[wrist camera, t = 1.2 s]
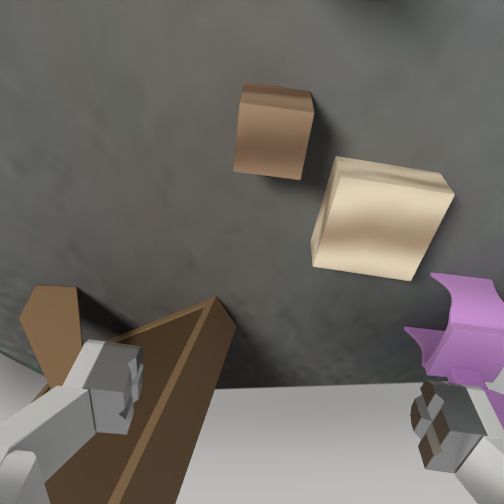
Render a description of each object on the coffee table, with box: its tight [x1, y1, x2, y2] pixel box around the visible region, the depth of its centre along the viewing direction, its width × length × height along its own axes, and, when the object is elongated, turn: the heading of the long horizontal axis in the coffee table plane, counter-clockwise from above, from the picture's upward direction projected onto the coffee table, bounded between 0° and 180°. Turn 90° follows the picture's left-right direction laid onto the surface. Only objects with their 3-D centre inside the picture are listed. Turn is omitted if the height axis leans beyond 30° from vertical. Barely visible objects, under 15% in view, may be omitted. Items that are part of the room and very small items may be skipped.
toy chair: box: [404, 273, 504, 429], centre depth 38 cm, size 8×9×15 cm
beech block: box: [311, 156, 455, 281], centre depth 36 cm, size 9×9×4 cm
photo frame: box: [19, 285, 236, 504], centre depth 37 cm, size 15×22×25 cm
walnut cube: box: [233, 82, 314, 180], centre depth 31 cm, size 5×5×5 cm
